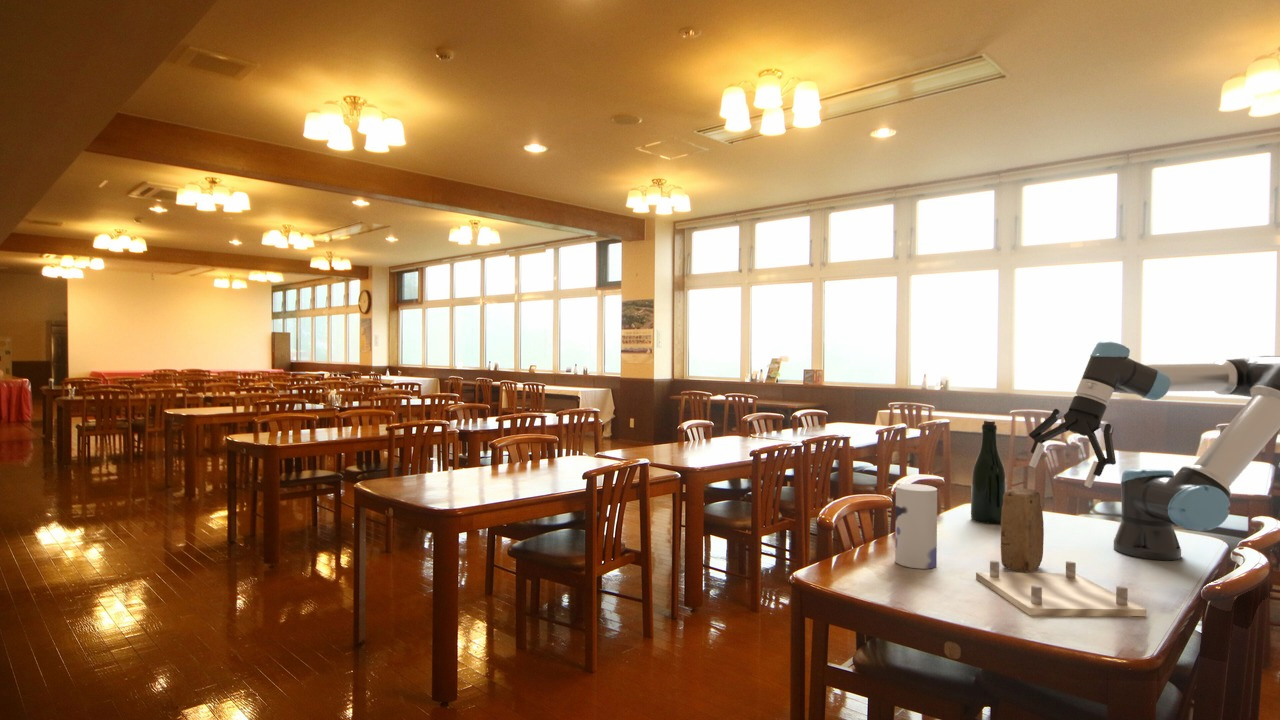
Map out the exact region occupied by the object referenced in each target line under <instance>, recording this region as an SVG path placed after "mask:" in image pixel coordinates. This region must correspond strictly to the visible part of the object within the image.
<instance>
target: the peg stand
mask: <svg viewBox="0 0 1280 720" xmlns="http://www.w3.org/2000/svg"><path fill="white" fill-rule="evenodd" d="M1076 566H1077V565H1076V562H1074V561H1069V560H1068V561H1065V573H1063V572H1062V573H1061V572H1000V561H997V560H990V561H989V572H978V571H977V572H975V579H976V580H977V581H978V582H980V583H982V584H983V585H984V586H986V587H988V588H989V589H991V590H992V591H993V592H995V593H997V595H998V596H1001V597H1002V598H1004V599H1005V600H1007V601H1008V602H1009V603H1011V604H1012V605H1014V606H1015V607H1017V608H1018V609H1020V610H1021V611H1023V612H1024V613H1026V614H1027V615H1028V616H1036V617H1037V616H1046V617H1048V616H1049V617H1050V616H1051V617H1055V616H1057V617H1059V616H1060V617H1063V616H1065V617H1131V616H1146V617H1147V608H1144V607H1143V606H1141V605H1138V604H1136V603H1134V602H1132V601H1131V600H1128V598H1129V597H1128V595H1129V594H1128V592H1129V591H1128V587H1126V586H1121V585H1119V586H1117V585H1116V586H1115V588H1116V589H1115V592H1116V593H1115V592H1113V591H1111V590H1109V589H1107V588H1105V587H1103V586H1101V585H1099V584H1097V583H1095V582H1093V581H1091V580H1089V579H1088V578H1085V577H1084V576H1081V575H1080V574H1077V573H1076V572H1077V571H1076V570H1077V569H1076V568H1077V567H1076Z"/></svg>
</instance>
